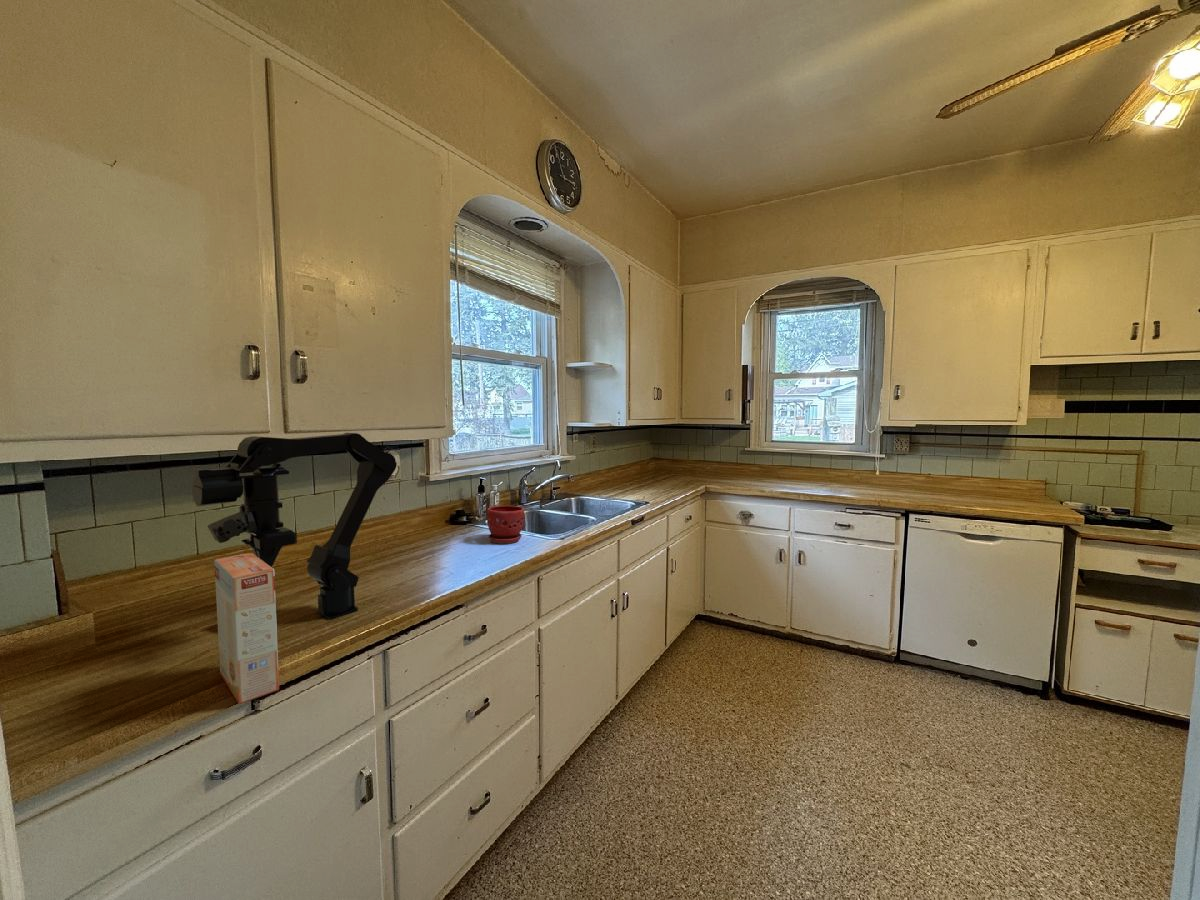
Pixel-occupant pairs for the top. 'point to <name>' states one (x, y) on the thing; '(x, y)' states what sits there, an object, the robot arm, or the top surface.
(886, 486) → the top surface
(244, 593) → the cracker box
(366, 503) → the robot arm
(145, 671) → the top surface
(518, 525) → the plant pot
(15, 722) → the top surface
